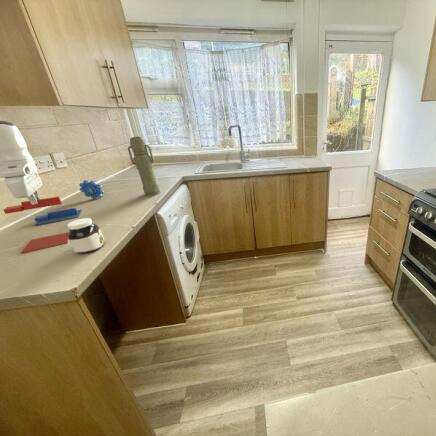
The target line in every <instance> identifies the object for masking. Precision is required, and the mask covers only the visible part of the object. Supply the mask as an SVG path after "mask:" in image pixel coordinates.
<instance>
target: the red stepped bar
mask: <svg viewBox="0 0 436 436" xmlns="http://www.w3.org/2000/svg"><path fill="white" fill-rule="evenodd" d="M62 204H63V202H62V199H61V197H60V195H59V196H53V197H46V198H40V199H38V204H34V205H32V204H31V202H30V201H29V200H25V201H24V200H23V201H21V202H20V204H18V205H12V206H6V207H5V208H4V209H3V212H4V214H6V215H7V214H13V213H20V212H24V211H27V210H34V209H41V208H47V207H52V206H58V205H62Z"/></svg>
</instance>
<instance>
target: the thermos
mask: <svg viewBox="0 0 436 436" xmlns="http://www.w3.org/2000/svg"><path fill="white" fill-rule="evenodd" d="M129 145H130V146H127V151H128V155H129V158H130V161H131V163H132V165H134V166H135V167H136V170H137V171H138V174H139V177H140V180H141V184H142V190H143V193H144V195H145V196H146V197H151V196H152V197H153V196H156V195H159V194H161V187H160V185H159V183H158V181H157V178H156V174H155V171H154V164H153V163H154V162H155V157H154V155H153V151H152V147H151V146H150V145H149V144H146V141H145V140H144V138H143V137H142V136H132V137H131V138H129ZM131 150H132V151H131ZM132 153H133V155H132Z"/></svg>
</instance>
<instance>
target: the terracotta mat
mask: <svg viewBox="0 0 436 436" xmlns="http://www.w3.org/2000/svg"><path fill="white" fill-rule="evenodd" d="M68 233H69V231H67V232H62V233H58V234H52V235H47V236H42V237H37V238H32V239H30V240H29V241H28V243H27V244H26V245H25V247H24V248H22V251H21V252H20V253H21V254H22V255H23V254H28V253H32V252H36V251H40V250H44V249H49V248H53V247H57V246H61V245H62V246H63V245H67V244H68Z"/></svg>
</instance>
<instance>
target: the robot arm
mask: <svg viewBox="0 0 436 436" xmlns="http://www.w3.org/2000/svg"><path fill="white" fill-rule="evenodd" d="M38 170H39V169H38V166H37V164H36V162H35V160H34V158H33V156H32V155H31V153H30V152H29V150H28V144H27V142H26V140H25V139H24V136H23V134H22V133H21V131H20V130H19V128H18V127H17V126H16V125H15V124H14V123H12V122H9V121H5V120H0V178H2V179H3V180H4V183H5V184H6V186H7V188H8V190H9V191H10V193H11V195H12V196H13V197H14V198H16V199H25V198H26V199H27V201H30V202H31V204H32V205H34V204H38V199H41V197H40V194H39V193H40V192H39V189H40V188H41V187H43V185H44V183H43V181H42V179H41V176H40V174H39V172H38Z"/></svg>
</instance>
